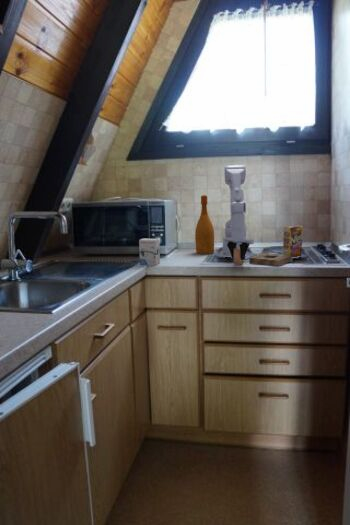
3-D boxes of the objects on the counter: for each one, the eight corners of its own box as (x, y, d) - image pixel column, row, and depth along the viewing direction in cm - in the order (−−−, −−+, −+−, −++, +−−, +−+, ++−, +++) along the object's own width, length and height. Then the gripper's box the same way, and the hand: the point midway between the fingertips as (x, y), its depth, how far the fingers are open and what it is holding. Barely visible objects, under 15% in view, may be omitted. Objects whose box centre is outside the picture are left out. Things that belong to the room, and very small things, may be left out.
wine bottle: (217, 252, 225) (217, 194, 219) (208, 255, 217) (208, 195, 211) (201, 250, 230) (200, 194, 224) (192, 253, 222) (190, 195, 216)
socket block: (249, 263, 193) (249, 257, 193) (263, 258, 204) (263, 253, 204) (278, 266, 185) (278, 260, 185) (291, 260, 196) (291, 255, 195)
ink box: (139, 264, 198) (138, 239, 195) (143, 262, 202) (142, 238, 200) (156, 265, 195) (155, 240, 193) (160, 263, 200) (159, 238, 197)
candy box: (289, 260, 197) (290, 227, 194) (282, 259, 201) (282, 226, 198) (302, 257, 202) (303, 225, 199) (295, 256, 206) (295, 225, 203)
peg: (232, 264, 191) (231, 249, 190) (236, 263, 194) (236, 247, 193) (239, 265, 189) (239, 249, 187) (244, 263, 192) (244, 248, 190)
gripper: (219, 229, 190) (219, 258, 192) (248, 230, 181) (248, 262, 184) (227, 227, 195) (227, 256, 198) (256, 228, 186) (255, 259, 189)
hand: (238, 258), depth 191 cm, fingers closed on peg, 4 cm apart
